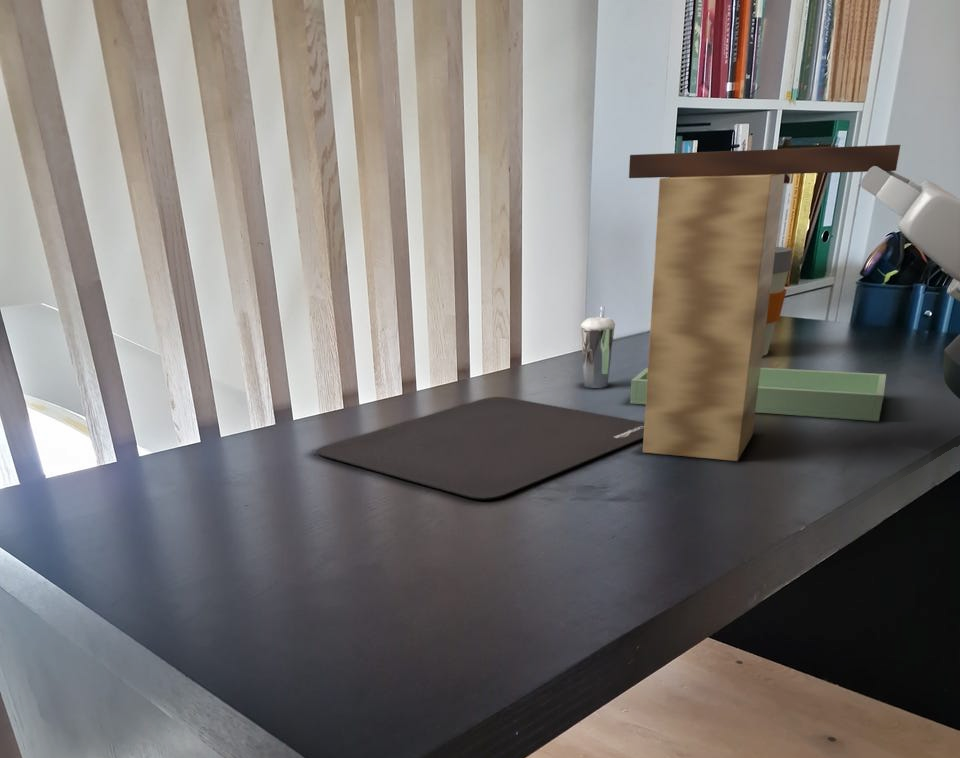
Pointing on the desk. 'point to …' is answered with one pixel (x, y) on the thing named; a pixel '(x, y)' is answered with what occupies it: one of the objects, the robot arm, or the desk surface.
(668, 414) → the stand
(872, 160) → the stick
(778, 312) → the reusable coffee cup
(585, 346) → the milkshake
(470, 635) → the desk surface
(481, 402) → the mouse pad
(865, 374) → the tray
